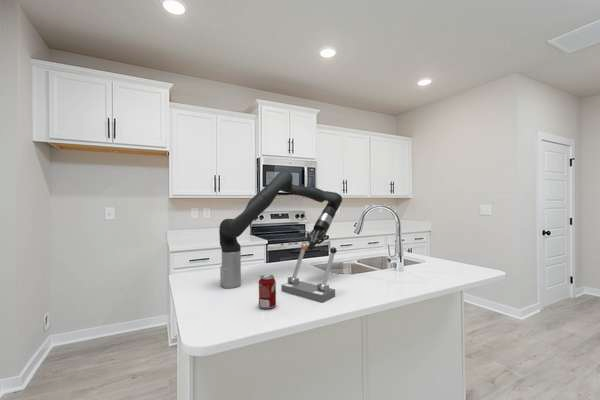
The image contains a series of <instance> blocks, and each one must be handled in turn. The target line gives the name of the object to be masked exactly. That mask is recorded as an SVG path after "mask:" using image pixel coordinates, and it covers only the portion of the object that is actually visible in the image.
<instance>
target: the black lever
mask: <svg viewBox="0 0 600 400" xmlns="http://www.w3.org/2000/svg"><path fill="white" fill-rule="evenodd" d="M337 251H338V250H337V248H336V247H333V246H332V247H331V248H329V252H330V253H329V257H328V260H327V264H326V267H325V271H324V273H323V274H324V275H323V278H322V280H321V283H322V284H320V286H319V289H320V290H323V291H325V288H324V286H326V285H327V282H328V279H329V276H330V273H331V269H332V265H333V262H334V257H335V255H336V253H337Z"/></svg>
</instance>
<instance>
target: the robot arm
mask: <svg viewBox="0 0 600 400" xmlns="http://www.w3.org/2000/svg"><path fill="white" fill-rule="evenodd" d="M293 178H294V177H293V174H292V172H290V171H289V170H283V171H282V170H281V171H280V172H279V173H277V175H275V177H274V178H273V179H272V180H271V181H270V182H269V183H268V184H267V185H266V186H265V187H264V188H262V189H261V190H260V191H258V192H257V194H255V195H254V196H253V197H252V198H251V199H250V200H249V202H248V203H247V205H246V207H245V209H244V210H243V212H241V213H240V214H239V215H238V216H236V217H235V218H224V219H223V220H222V221H221V222H220V224H219V228H218V229H219V231H218V233H219V246H220V249H221V266H220V270H219V271H220V272H219V273H220V275H219V276H220V277H219V278H220V283H219V284H220V286H221V287H222V288H223V289H233V288H238V287H240V286H241V285H242V271H241V270H242V266H241V264H242V261H241V257H242V256H241V255H242V254H241V250H242V249H241V244H240V243H239V242H238V239H237V238H238V237H240V236H242V234H243V233H244V232H245V230H246V229H248V228H249V226H250V225H251V224H252V223H253V222H254V220H256V219H257V218H258V217H259V216H260V215H261V214H262V213H264V212H265V211H266V209H268V207H270V205H271V204H272V203H273V201H274V200H275V199H276V197H277V196H278V194H279V192H283V193H287V194H292V195H297V196H301V197H304V198H307V199H310V200H313V201H315V202H318V203H323V202H327V204H325V207H324V209H323V210H322V211H321V214H320V215H319V216H318V218H317V219H316V221H315V223H314V225H313V229H312V230H311V232H306V239H307V241H308V243H309V244H308V245H307V249H308V250H309V251H313V250H314V248H315V247H316V246H317V245H320V244H321V243H323V242H325V240H327V239H328V235H327V232H328V231H329V230H330V227H331V225H332V222H333V219H334V218H335V216H336V213H337V212H338V210H339V208H340V206H341V204H342V202H343V197H342V195H341V194H340V193H338V192H336V191H335V192H334V191H329V190H328V191H326V190H322V189H320V188H318V187H314V186H302V185H301V186H300V185H299V186H298V185H296V184H294V183H293V181H294V180H293Z"/></svg>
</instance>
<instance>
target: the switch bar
mask: <svg viewBox="0 0 600 400" xmlns="http://www.w3.org/2000/svg"><path fill="white" fill-rule="evenodd" d="M291 277H292V276H288V277H287V282H286V283H283V284H281V292H282V293H286V294H289V295H292V296H297V297H300V298H304V299H308V300H311V301H314V302H318V303H322V304H323V303H325V302H326V301H329V300H332V299H333V298H334V297H336V289H335V288H331V287H330V284H326V286H324V288H325V291H323V290H320V289H319V286H320V284H322V282H318V283H316V284H313V283H309V282H305V281H301V280H300V278H299V277H296V279H294V283H291V282H290V278H291Z"/></svg>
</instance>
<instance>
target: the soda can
mask: <svg viewBox="0 0 600 400" xmlns="http://www.w3.org/2000/svg"><path fill="white" fill-rule="evenodd" d="M276 283H277V281H276V279H275V276H274V275H273V274H264V275H261V276H260V278H259V280H258V306H259V308H261V309H265V310H270V309H273V308H274V307H276V306H277V284H276Z"/></svg>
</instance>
